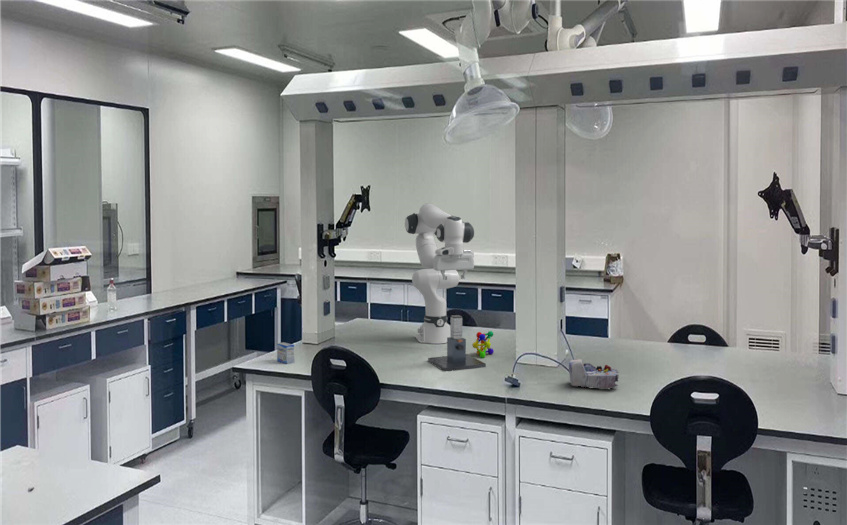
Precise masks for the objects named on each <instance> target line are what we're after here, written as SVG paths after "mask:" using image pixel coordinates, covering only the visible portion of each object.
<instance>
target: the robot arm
mask: <svg viewBox="0 0 847 525" xmlns="http://www.w3.org/2000/svg"><path fill="white" fill-rule="evenodd" d="M462 219H463V218H461V217H460V216H455V215H451V214H450V213H447V212H446V211H444V210H442V209H441V208H439V207H438V206H437V205H435V204H433V203H429V202H428V203H427V202H426V203H424V204H422V205H421V206H420V208H419V211H418V213H415V212H414V213H412V214H409V215H407V216H406V217H405V219H404V227H405V230H406V232H407V233H408V234H410V235H411V234H412V235H414V234H417V236H416V237H415V248H416V252H417V255H418V260H419V263H420V264H421V266H422V267H423V268H421V269H419V270H416V271H414V272H413V274H412V277H411V283H412V285H413V287H414V288H415V289H416V290H417V291H419V292H420V293H421V295H422V297H423V299H424V305H425V306H424V307H425V308H424V309H425V315H424V318H423V321H424V322H423V323H422V324H421V325H420V326H419V328H417V333H418V334H416V335H415V336H414V338H415V337H416V338H415V339H416V340H417V342H418V343H421V344H432V345H433V344H439V345H440V344H447V337H451V326H450V324H449V323H448V315H447V301H446V299H445V298H444V297H443V296H441V295H439V294H438V293H437V290H445V289H446V290H448V289H451V288H455V287H457V286H458V284H459V283H460V279H462V280H465V279H466V274H467V273H468V270H474V268H475V261H474V256H475V255H474V252H473V251H472V250H470V249H468V250H464V243H466V244H468V243H470V242H471V241H472V240H473V238H474V237H475V229H474V227H473V225H472V224H471V223H470V222H468V221H467V222H464V221H463V220H462ZM435 236H436V238H437V240H438V241H439V242H441V243H444V246H443V247H441V248H438V247H437V244H436V241H435ZM460 270H461V271H462V274H459V272H458V271H460Z"/></svg>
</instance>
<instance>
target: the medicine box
mask: <svg viewBox="0 0 847 525" xmlns="http://www.w3.org/2000/svg"><path fill="white" fill-rule="evenodd" d="M276 358H277V359H276V360H277V362H278V363H281V364H285V365H290V364H293V363H295V344H292V343H288V342H286V341H285V342H283V341H282V342H279V343H276Z"/></svg>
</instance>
